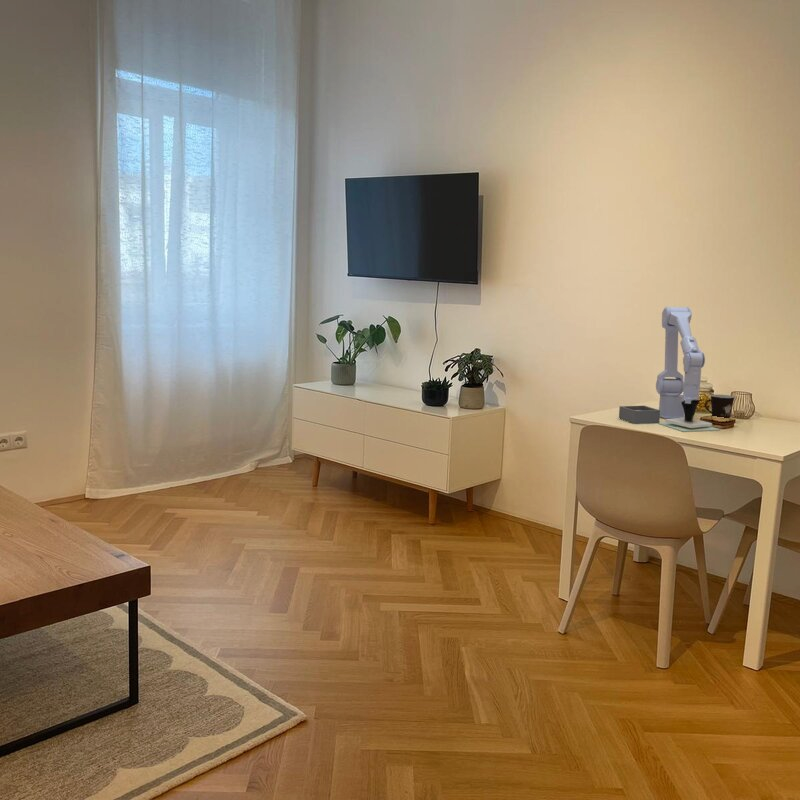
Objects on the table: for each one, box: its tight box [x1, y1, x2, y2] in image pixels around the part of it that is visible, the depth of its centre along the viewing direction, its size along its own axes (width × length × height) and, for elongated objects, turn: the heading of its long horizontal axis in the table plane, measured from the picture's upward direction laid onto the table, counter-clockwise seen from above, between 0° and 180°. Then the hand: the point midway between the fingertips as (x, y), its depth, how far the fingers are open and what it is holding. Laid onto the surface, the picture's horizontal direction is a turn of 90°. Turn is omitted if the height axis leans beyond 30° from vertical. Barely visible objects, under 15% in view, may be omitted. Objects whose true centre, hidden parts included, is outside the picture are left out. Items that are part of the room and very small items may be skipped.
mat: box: [657, 422, 721, 433], centre depth 315 cm, size 16×16×1 cm
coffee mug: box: [704, 394, 735, 419], centre depth 328 cm, size 12×9×10 cm
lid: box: [664, 414, 713, 428], centre depth 315 cm, size 12×12×4 cm
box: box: [618, 405, 661, 425], centre depth 325 cm, size 11×11×5 cm
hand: (689, 420), depth 315 cm, fingers open, 3 cm apart
